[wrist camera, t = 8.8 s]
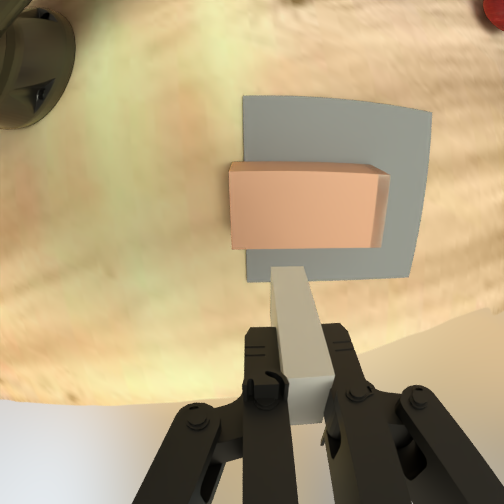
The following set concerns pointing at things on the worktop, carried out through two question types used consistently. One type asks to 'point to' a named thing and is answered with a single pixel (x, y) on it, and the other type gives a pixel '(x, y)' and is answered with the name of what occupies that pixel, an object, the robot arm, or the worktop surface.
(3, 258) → the worktop surface
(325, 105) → the mat
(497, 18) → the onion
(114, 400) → the worktop surface
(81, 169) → the worktop surface
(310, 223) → the tall block
